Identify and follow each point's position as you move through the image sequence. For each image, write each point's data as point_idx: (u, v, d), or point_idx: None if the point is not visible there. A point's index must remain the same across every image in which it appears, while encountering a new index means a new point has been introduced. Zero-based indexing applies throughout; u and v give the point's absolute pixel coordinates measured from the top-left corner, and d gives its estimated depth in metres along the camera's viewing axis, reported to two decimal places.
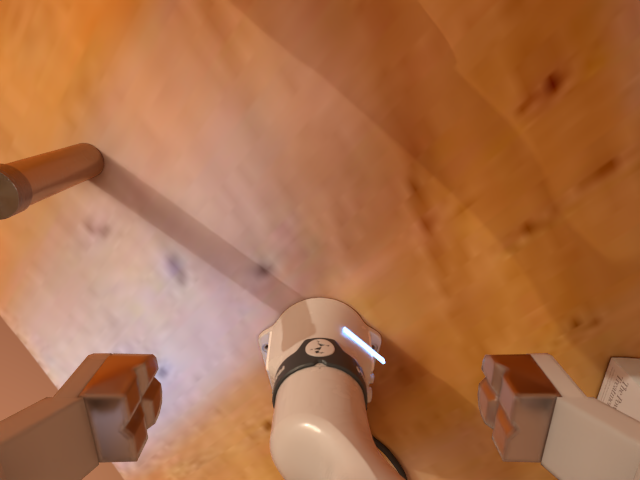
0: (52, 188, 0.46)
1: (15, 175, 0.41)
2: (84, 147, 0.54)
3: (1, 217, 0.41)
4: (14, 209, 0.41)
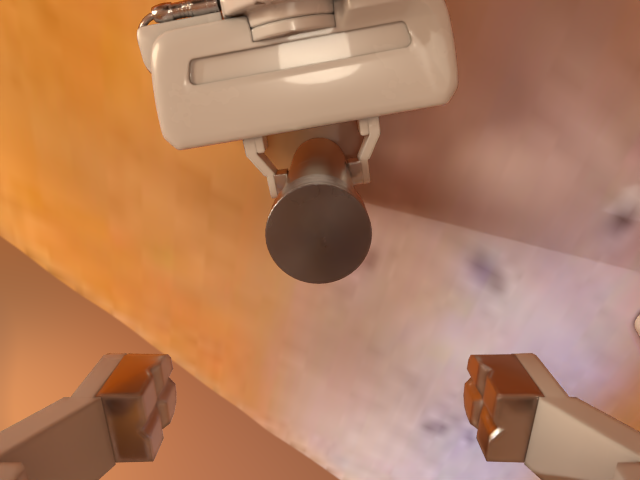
0: None
1: (342, 184, 0.20)
2: (321, 141, 0.34)
3: (344, 273, 0.21)
4: (366, 247, 0.20)
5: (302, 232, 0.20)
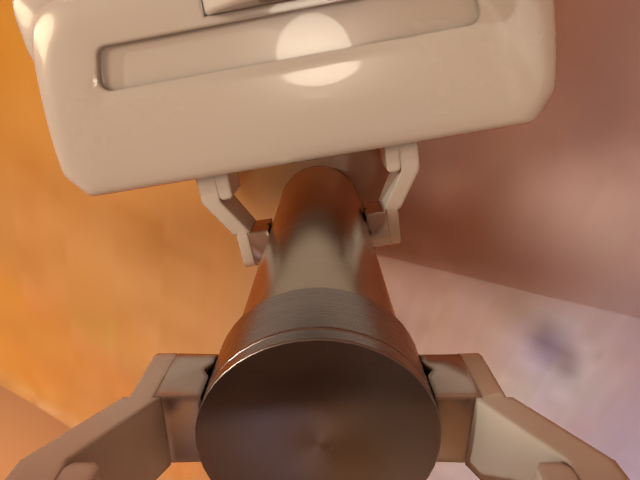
0: None
1: (371, 321, 0.09)
2: (323, 174, 0.22)
3: None
4: (426, 466, 0.09)
5: (281, 437, 0.09)
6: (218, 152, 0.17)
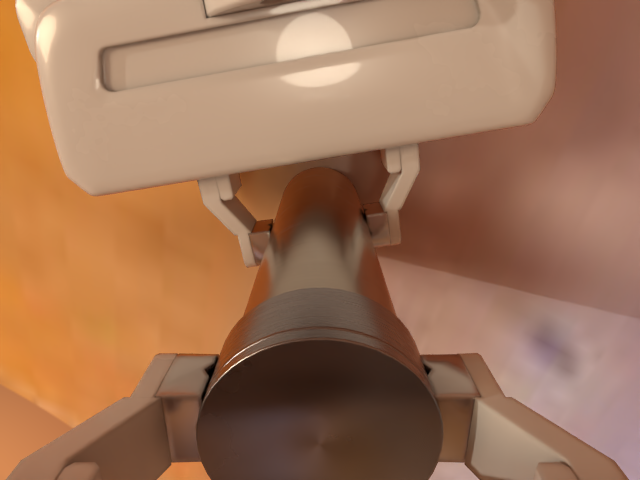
0: None
1: (236, 339, 0.09)
2: (324, 174, 0.22)
3: (432, 422, 0.09)
4: (388, 364, 0.08)
5: (299, 469, 0.09)
6: (219, 153, 0.17)
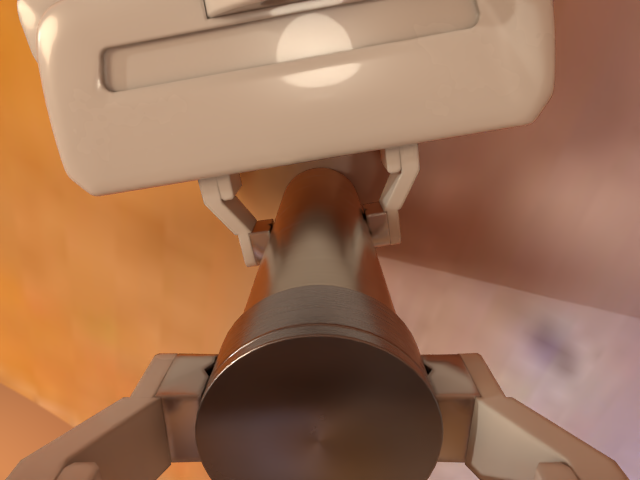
0: None
1: None
2: (324, 175, 0.23)
3: (330, 344, 0.08)
4: (244, 364, 0.08)
5: (342, 465, 0.09)
6: (220, 153, 0.17)
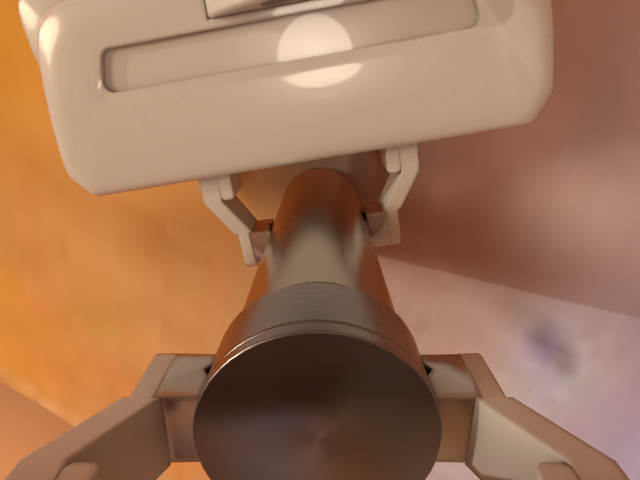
0: None
1: None
2: (324, 175, 0.23)
3: (209, 400, 0.08)
4: (210, 466, 0.09)
5: (354, 430, 0.09)
6: (220, 153, 0.17)
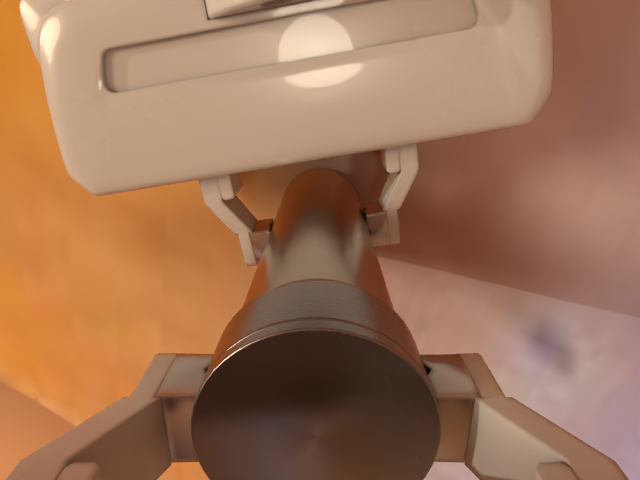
0: None
1: None
2: (324, 175, 0.23)
3: None
4: None
5: (315, 406, 0.08)
6: (220, 153, 0.18)
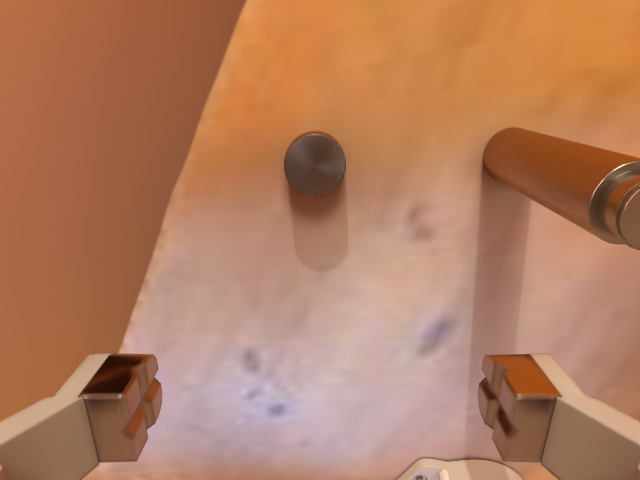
0: None
1: None
2: None
3: (295, 185, 0.35)
4: (314, 193, 0.36)
5: (315, 156, 0.34)
6: None
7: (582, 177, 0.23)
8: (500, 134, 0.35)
